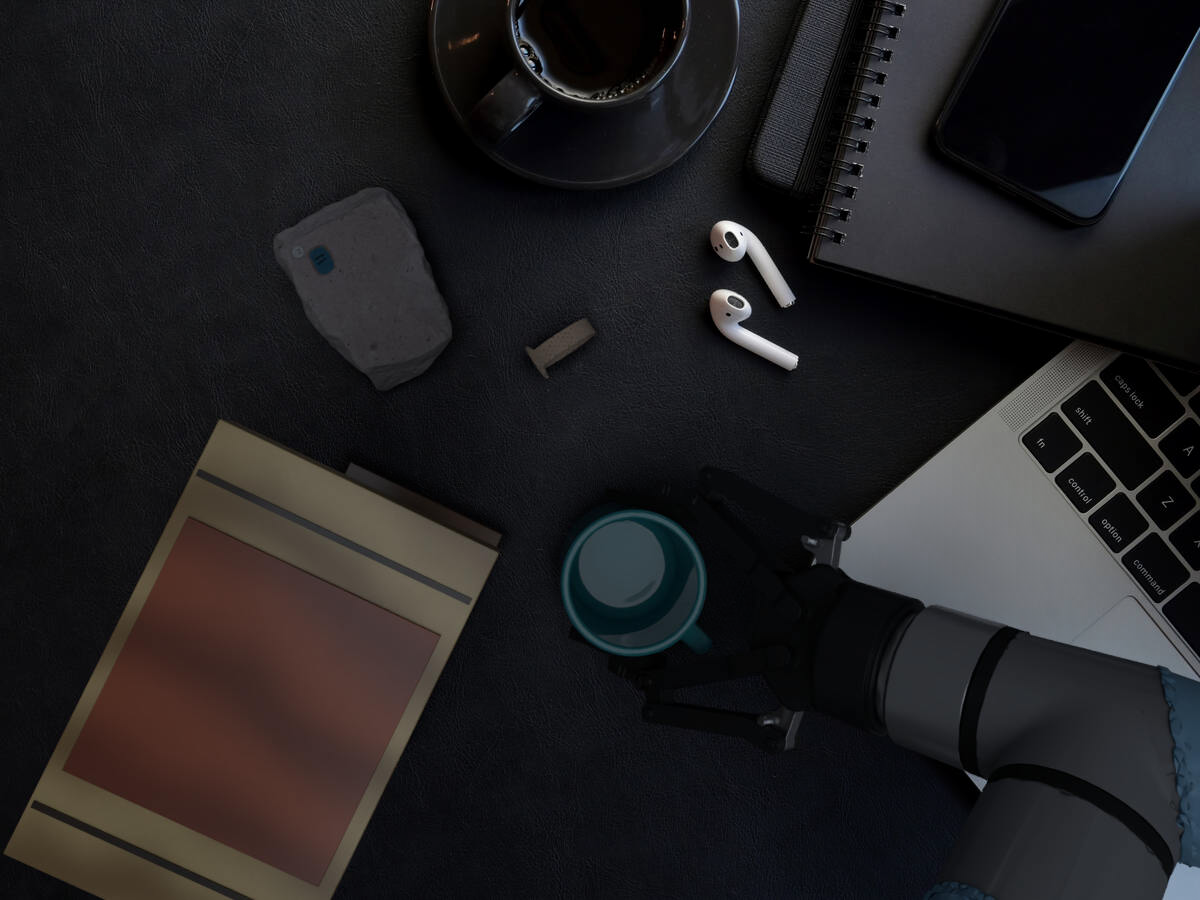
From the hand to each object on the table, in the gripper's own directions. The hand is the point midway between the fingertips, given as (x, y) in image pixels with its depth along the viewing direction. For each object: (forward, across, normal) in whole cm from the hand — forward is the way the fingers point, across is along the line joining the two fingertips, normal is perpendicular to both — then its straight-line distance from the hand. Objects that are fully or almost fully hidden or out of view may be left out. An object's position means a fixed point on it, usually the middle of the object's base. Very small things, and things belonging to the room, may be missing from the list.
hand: (599, 563), depth 64 cm
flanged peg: (+7, +14, +1) cm, 16 cm away
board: (-6, -6, +26) cm, 28 cm away
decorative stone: (+17, +15, +11) cm, 26 cm away
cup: (+1, -1, -5) cm, 5 cm away
